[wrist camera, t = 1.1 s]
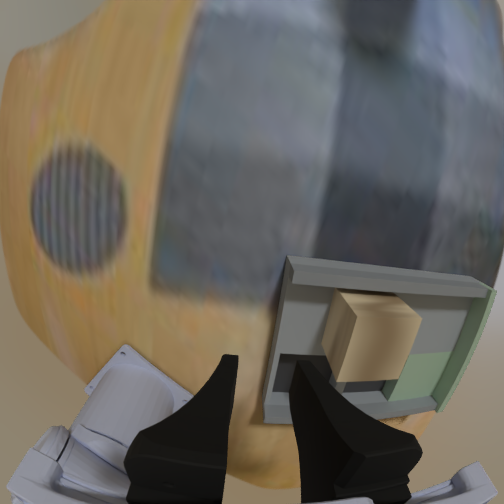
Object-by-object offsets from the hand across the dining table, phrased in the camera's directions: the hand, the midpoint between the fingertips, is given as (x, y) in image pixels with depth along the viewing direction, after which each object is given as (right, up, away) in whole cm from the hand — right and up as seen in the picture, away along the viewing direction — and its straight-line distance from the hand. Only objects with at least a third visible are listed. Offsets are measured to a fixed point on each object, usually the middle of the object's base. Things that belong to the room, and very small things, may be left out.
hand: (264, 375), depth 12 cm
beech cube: (+7, +1, +7) cm, 10 cm away
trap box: (+10, -2, +10) cm, 14 cm away
